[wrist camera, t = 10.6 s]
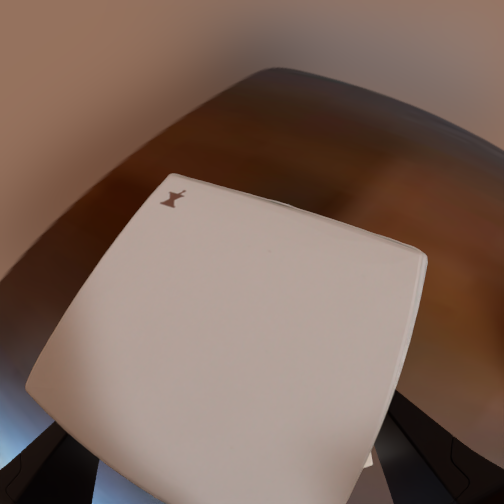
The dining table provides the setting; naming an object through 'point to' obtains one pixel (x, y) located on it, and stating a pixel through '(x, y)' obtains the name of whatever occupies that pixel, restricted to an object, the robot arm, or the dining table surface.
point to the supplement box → (233, 349)
